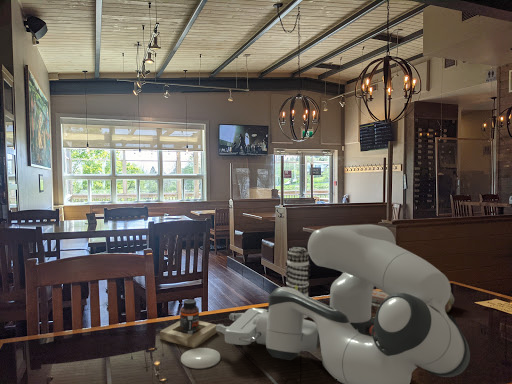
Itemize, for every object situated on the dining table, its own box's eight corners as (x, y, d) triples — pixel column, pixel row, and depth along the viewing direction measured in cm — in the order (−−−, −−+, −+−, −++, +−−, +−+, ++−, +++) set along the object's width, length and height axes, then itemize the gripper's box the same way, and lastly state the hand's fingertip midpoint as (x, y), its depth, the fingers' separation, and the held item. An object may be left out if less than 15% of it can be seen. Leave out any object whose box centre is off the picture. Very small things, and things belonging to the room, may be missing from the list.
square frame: (217, 332, 128) (217, 324, 128) (194, 348, 117) (194, 339, 117) (185, 324, 134) (185, 317, 134) (160, 339, 123) (160, 331, 122)
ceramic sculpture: (461, 286, 155) (447, 296, 145) (461, 307, 156) (447, 319, 146) (434, 280, 163) (418, 290, 152) (433, 301, 164) (418, 311, 153)
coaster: (227, 355, 113) (227, 352, 113) (206, 372, 103) (206, 370, 103) (196, 346, 118) (196, 344, 118) (172, 362, 108) (172, 360, 108)
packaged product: (413, 296, 156) (404, 302, 148) (413, 308, 156) (404, 314, 148) (370, 286, 167) (360, 292, 160) (370, 298, 168) (360, 303, 160)
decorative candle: (303, 321, 139) (304, 251, 138) (280, 316, 144) (281, 248, 142) (313, 313, 147) (315, 247, 145) (291, 308, 152) (292, 244, 150)
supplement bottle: (194, 340, 122) (195, 305, 121) (176, 338, 123) (177, 303, 123) (201, 332, 128) (201, 298, 127) (184, 331, 129) (184, 297, 128)
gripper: (253, 354, 106) (207, 345, 111) (275, 326, 126) (236, 320, 130) (253, 331, 106) (208, 323, 111) (276, 307, 125) (236, 301, 130)
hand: (223, 321), depth 121 cm, fingers open, 8 cm apart
